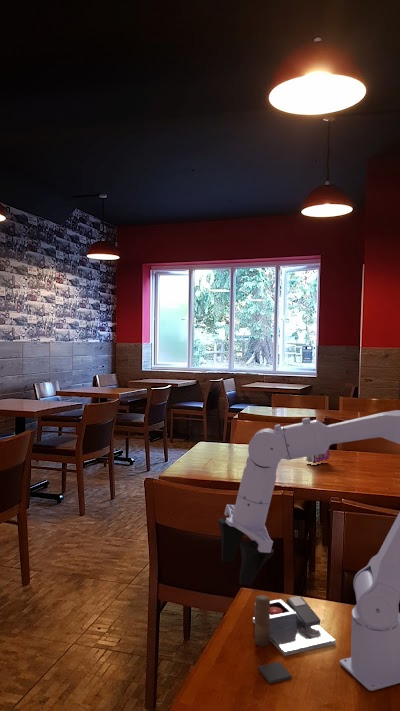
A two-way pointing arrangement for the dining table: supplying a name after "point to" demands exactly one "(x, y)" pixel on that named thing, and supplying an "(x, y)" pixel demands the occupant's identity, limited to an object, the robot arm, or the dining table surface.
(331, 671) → the dining table surface
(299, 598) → the block
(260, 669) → the pad
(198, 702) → the dining table surface
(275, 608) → the button
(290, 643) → the panel
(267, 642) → the dowel
